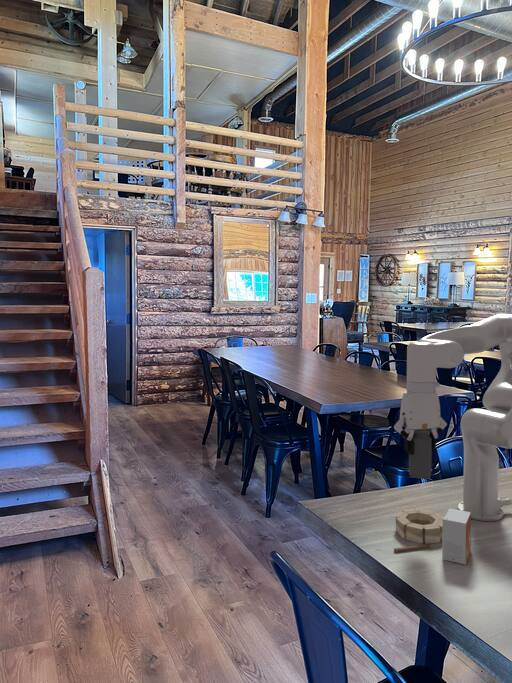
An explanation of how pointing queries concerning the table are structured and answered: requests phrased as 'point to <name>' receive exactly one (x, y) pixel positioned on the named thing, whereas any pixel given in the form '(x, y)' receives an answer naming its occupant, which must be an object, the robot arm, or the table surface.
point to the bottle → (421, 454)
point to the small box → (456, 536)
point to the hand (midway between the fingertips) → (420, 451)
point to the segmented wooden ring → (419, 526)
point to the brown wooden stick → (412, 548)
